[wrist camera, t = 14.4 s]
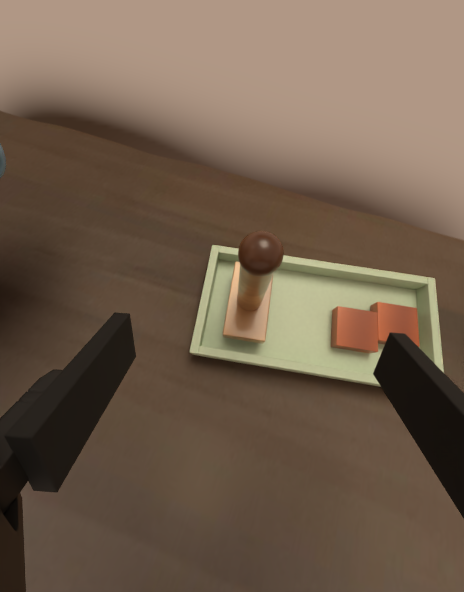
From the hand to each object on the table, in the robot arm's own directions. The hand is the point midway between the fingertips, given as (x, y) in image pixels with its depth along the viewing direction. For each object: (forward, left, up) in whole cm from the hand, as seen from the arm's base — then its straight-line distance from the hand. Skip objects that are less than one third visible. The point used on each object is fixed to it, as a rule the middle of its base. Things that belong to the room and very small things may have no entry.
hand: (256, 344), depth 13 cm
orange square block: (+15, +6, -13) cm, 20 cm away
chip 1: (+11, +5, -13) cm, 17 cm away
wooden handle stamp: (0, +6, -13) cm, 14 cm away
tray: (+7, +6, -13) cm, 16 cm away
